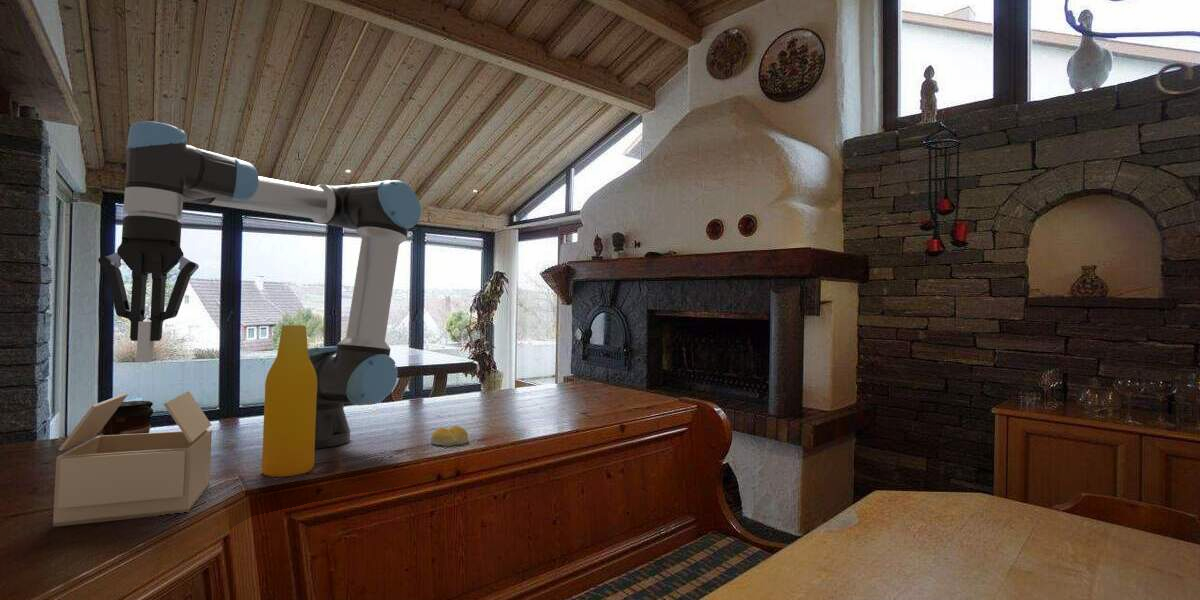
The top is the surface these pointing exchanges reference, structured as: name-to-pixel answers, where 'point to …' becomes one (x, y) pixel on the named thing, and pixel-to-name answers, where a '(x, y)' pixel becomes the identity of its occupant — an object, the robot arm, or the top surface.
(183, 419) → the flap
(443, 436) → the bread roll
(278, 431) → the beer bottle
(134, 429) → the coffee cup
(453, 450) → the top surface
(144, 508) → the carton
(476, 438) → the top surface
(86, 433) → the flap
